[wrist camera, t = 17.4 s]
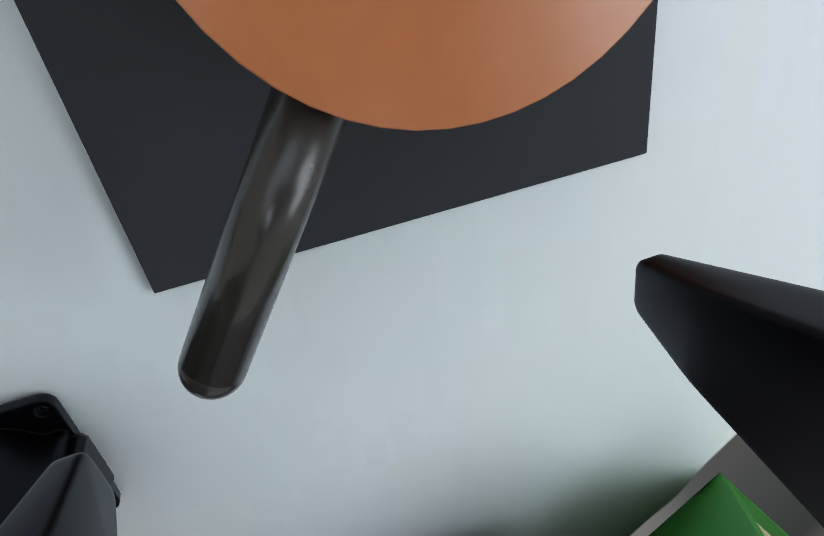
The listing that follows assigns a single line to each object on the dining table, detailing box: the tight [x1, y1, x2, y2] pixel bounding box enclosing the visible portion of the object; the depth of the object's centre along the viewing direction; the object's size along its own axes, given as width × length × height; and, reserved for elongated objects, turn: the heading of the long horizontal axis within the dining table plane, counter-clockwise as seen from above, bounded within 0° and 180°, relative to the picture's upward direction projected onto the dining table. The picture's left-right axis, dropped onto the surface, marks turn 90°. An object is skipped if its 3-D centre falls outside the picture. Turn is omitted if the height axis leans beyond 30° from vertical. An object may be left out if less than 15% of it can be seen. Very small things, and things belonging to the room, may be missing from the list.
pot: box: [178, 87, 347, 400], centre depth 15 cm, size 20×10×7 cm, turn 155°
